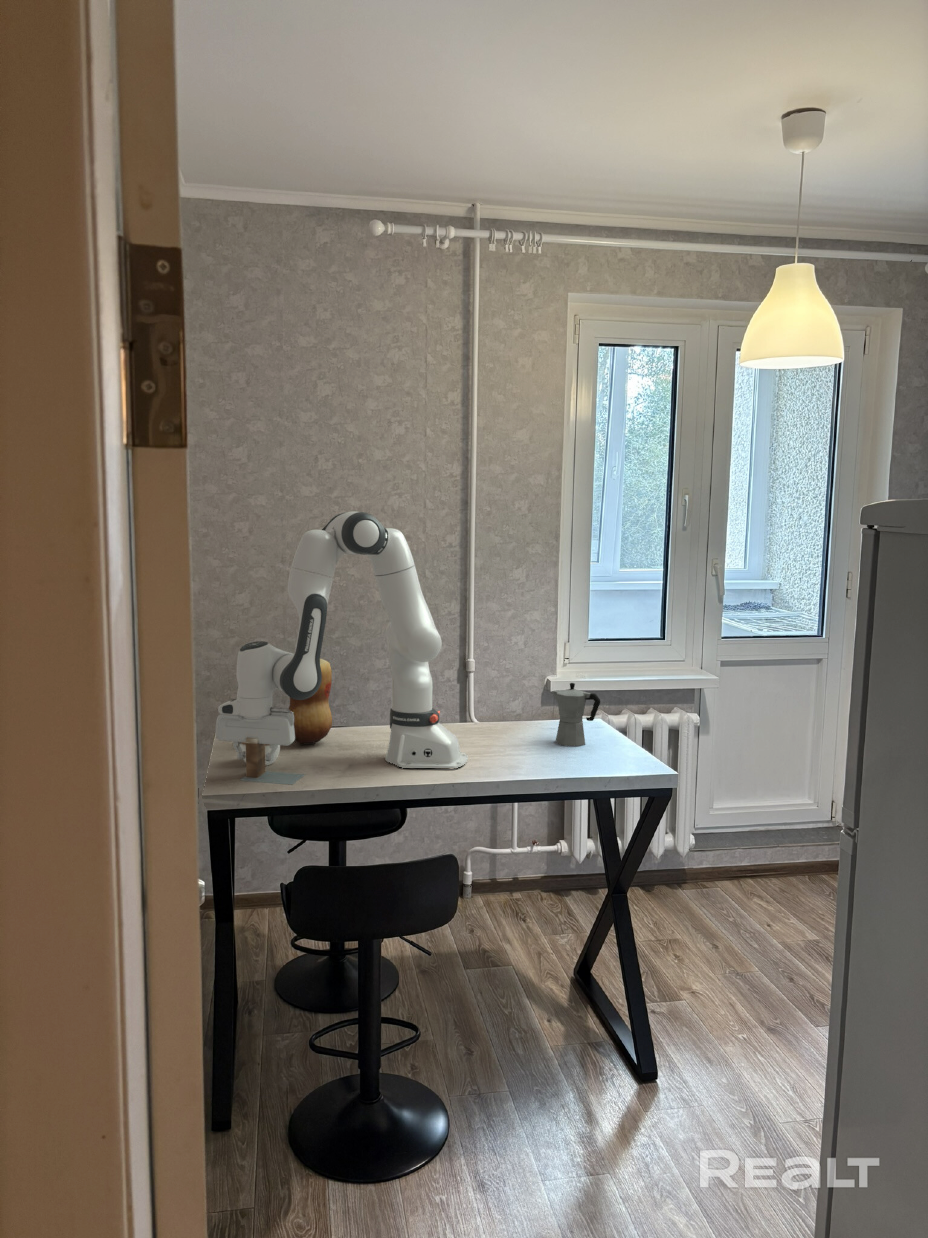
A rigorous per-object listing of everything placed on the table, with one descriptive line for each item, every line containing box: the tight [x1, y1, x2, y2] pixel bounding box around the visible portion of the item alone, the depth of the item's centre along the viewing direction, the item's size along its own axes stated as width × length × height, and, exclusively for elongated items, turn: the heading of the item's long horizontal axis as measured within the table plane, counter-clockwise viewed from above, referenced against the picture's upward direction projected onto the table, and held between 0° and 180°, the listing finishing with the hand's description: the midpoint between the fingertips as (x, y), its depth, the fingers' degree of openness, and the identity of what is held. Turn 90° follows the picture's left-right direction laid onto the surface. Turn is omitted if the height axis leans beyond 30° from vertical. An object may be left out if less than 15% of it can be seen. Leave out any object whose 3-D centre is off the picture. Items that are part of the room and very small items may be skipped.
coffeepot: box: [550, 682, 601, 747], centre depth 274 cm, size 15×9×18 cm, turn 61°
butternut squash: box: [288, 658, 333, 745], centre depth 269 cm, size 14×13×25 cm
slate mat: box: [238, 770, 307, 786], centre depth 234 cm, size 14×9×1 cm, turn 79°
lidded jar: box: [240, 742, 281, 767], centre depth 247 cm, size 11×11×9 cm
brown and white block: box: [245, 738, 266, 778], centre depth 236 cm, size 3×5×10 cm, turn 169°
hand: (255, 759), depth 236 cm, fingers open, 6 cm apart
